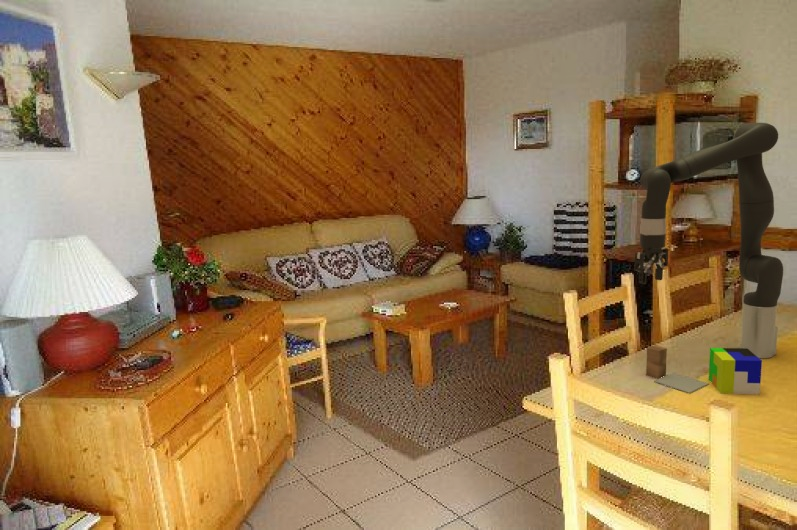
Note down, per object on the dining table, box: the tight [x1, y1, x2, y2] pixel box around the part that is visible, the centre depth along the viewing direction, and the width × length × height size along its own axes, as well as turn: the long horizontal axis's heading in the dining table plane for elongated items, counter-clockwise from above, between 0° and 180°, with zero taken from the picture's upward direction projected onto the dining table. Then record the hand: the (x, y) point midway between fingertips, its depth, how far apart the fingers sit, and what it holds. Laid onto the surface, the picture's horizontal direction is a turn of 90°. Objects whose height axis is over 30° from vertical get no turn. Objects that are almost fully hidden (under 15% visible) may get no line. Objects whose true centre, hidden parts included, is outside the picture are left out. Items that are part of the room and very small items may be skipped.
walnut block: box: [645, 344, 668, 380], centre depth 172 cm, size 4×4×9 cm
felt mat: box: [653, 372, 710, 394], centre depth 166 cm, size 10×11×1 cm
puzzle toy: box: [708, 347, 763, 395], centre depth 161 cm, size 10×10×10 cm
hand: (650, 281), depth 181 cm, fingers open, 8 cm apart
